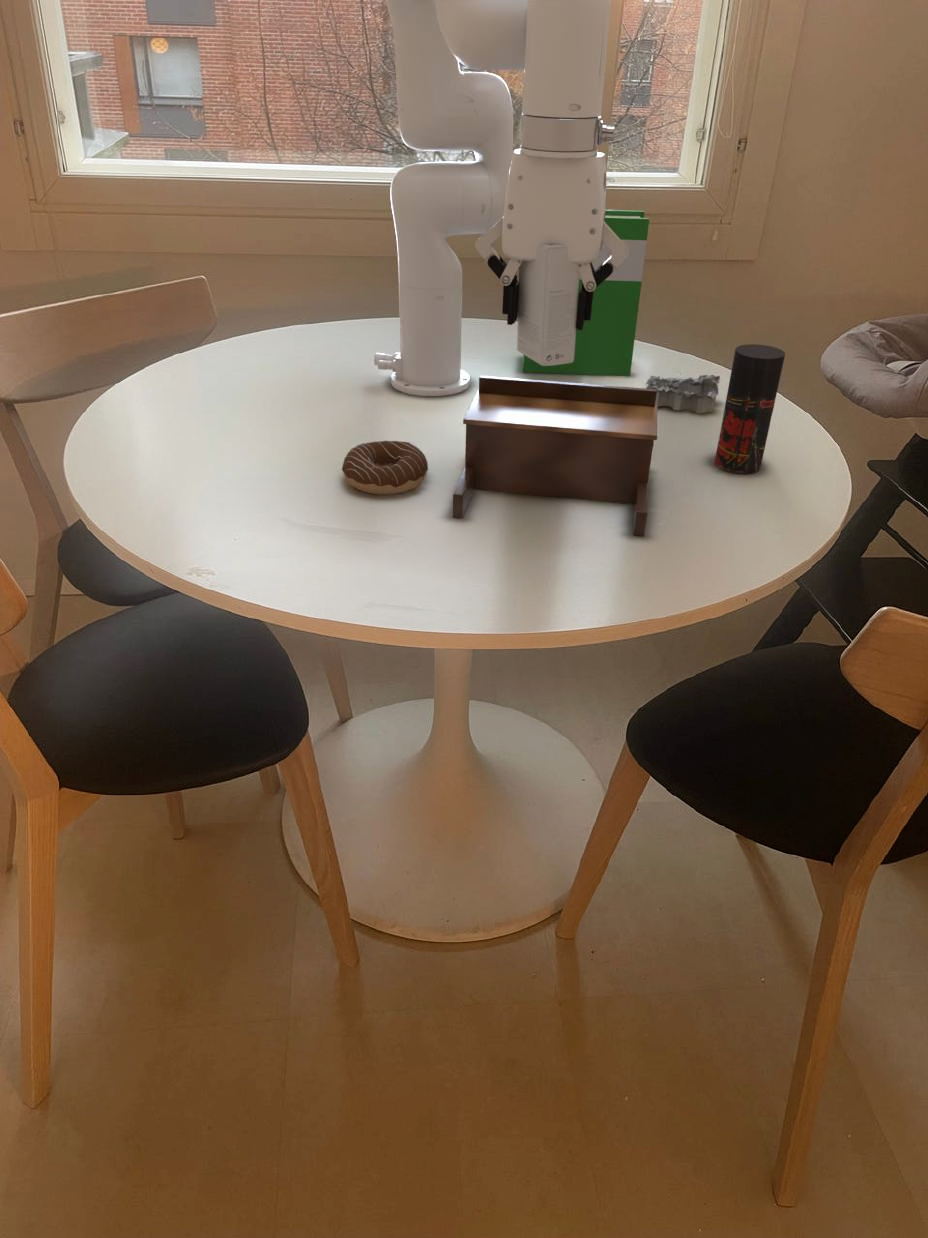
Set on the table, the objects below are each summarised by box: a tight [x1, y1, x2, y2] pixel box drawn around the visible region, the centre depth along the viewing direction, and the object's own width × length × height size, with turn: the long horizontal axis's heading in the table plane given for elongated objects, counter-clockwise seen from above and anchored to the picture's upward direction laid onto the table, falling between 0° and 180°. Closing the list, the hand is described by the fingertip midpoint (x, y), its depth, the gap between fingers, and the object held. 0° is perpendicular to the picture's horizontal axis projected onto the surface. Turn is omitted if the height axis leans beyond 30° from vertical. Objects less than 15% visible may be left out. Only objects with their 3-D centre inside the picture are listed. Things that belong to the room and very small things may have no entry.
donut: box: [341, 440, 429, 495], centre depth 111 cm, size 11×11×4 cm
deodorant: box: [714, 343, 786, 475], centre depth 115 cm, size 6×6×15 cm
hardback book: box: [522, 209, 650, 377], centre depth 145 cm, size 18×7×24 cm, turn 87°
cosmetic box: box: [516, 244, 580, 366], centre depth 96 cm, size 6×4×12 cm
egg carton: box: [645, 374, 721, 415], centre depth 137 cm, size 11×8×4 cm
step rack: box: [452, 375, 658, 537], centre depth 108 cm, size 23×18×11 cm
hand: (546, 322), depth 97 cm, fingers closed on cosmetic box, 6 cm apart
